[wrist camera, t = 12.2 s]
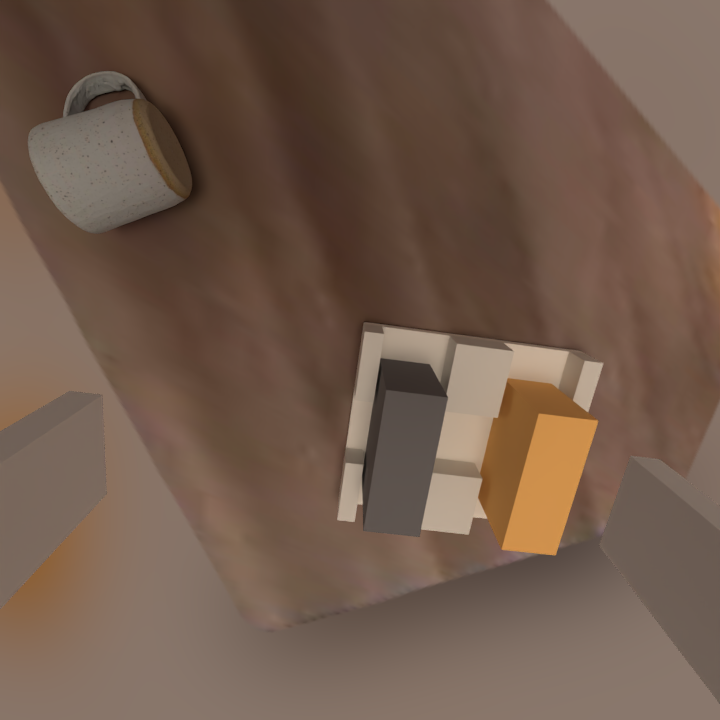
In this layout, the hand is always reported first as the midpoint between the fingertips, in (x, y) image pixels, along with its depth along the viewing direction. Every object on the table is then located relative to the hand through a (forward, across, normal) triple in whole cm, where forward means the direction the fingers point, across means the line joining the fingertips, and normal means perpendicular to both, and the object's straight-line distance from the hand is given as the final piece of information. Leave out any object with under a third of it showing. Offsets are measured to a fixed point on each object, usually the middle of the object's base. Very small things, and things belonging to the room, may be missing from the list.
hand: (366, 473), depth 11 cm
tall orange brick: (+28, +16, -11) cm, 34 cm away
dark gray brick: (+28, +5, -11) cm, 30 cm away
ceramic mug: (+29, -19, +9) cm, 36 cm away
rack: (+28, +11, -11) cm, 32 cm away
